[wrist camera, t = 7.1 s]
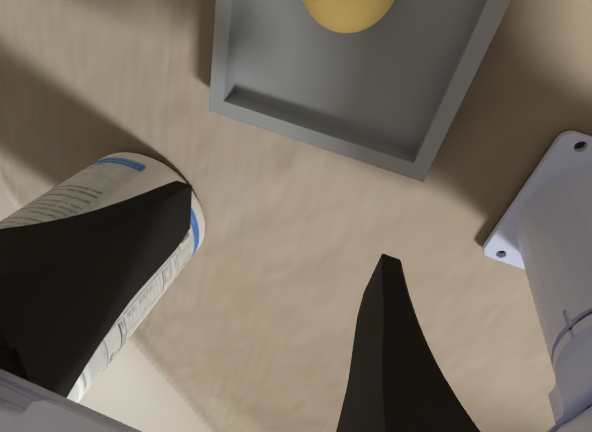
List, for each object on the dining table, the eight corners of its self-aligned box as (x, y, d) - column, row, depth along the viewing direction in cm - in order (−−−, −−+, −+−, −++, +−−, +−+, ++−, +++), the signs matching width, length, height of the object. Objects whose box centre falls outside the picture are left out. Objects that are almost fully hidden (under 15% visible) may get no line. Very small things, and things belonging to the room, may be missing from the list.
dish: (559, -122, 14) (575, -132, 12) (424, 164, 21) (423, 181, 19) (250, -191, 15) (228, -208, 13) (224, 99, 22) (208, 110, 21)
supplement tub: (90, 211, 32) (-110, 360, 20) (108, 120, 26) (-161, 256, 14) (190, 273, 32) (51, 453, 21) (229, 197, 26) (66, 389, 15)
